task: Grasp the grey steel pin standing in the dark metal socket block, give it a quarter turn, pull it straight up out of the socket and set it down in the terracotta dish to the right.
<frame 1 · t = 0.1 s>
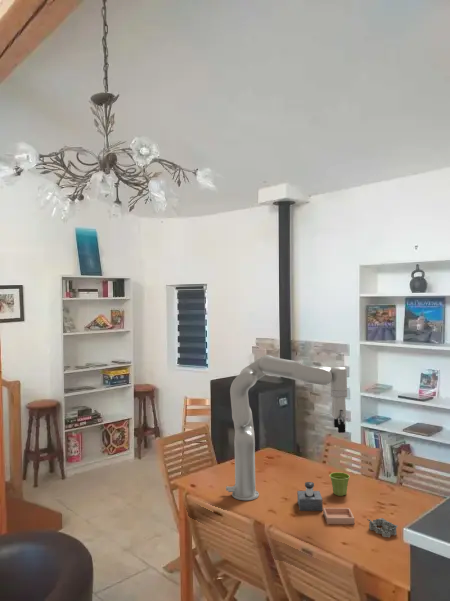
hand: (339, 429, 234), 31 cm above the table, fingers open, 9 cm apart
plant pot: (339, 494, 237), on the table
egg carton: (382, 532, 197), on the table
pin: (309, 494, 223), in the socket block
tray: (338, 518, 209), on the table
socket block: (309, 506, 223), on the table
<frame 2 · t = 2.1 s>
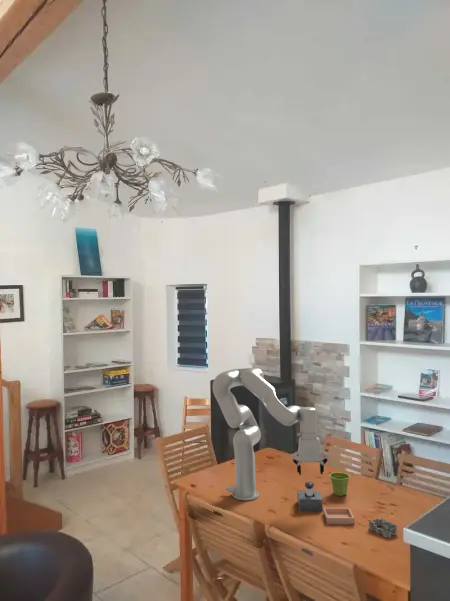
hand: (310, 473, 223), 15 cm above the table, fingers open, 9 cm apart
nothing on the table moved.
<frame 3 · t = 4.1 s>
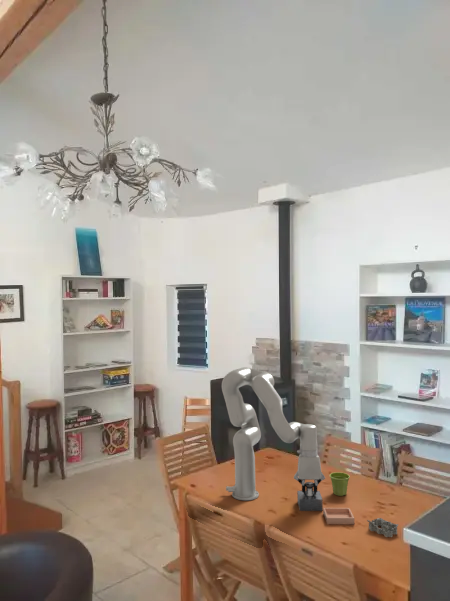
hand: (309, 493, 223), 6 cm above the table, fingers closed on pin, 4 cm apart
pin: (309, 494, 223), in the socket block, touching gripper
everything else where it was.
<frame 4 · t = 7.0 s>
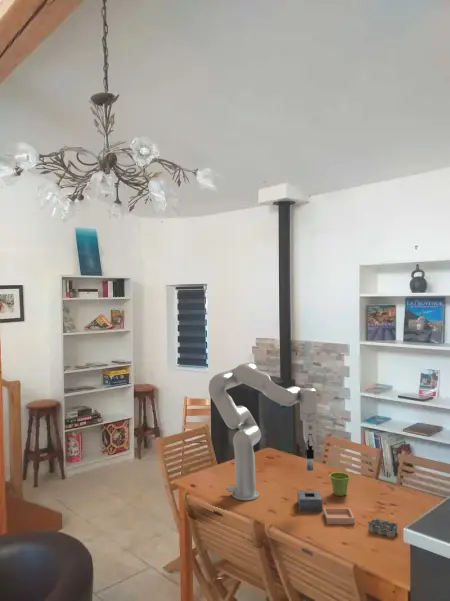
hand: (309, 456, 223), 22 cm above the table, fingers closed on pin, 4 cm apart
pin: (309, 458, 223), point 22 cm above the table, touching gripper
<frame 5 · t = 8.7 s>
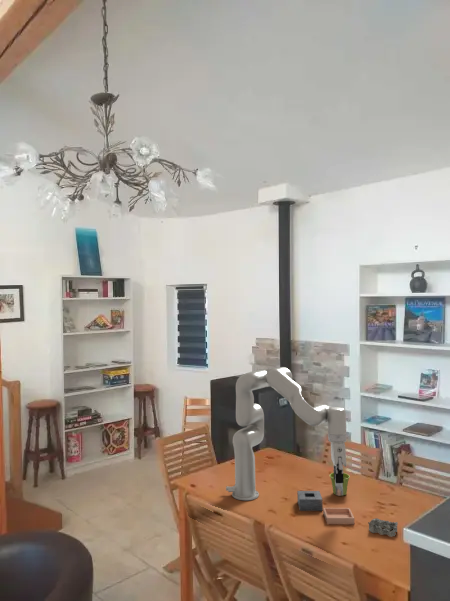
hand: (338, 480, 209), 16 cm above the table, fingers closed on pin, 4 cm apart
pin: (338, 482, 209), point 16 cm above the table, touching gripper
when the fingers open (8 cm above the table, at t = 10.3 s): pin drops 1 cm, resting on tray.
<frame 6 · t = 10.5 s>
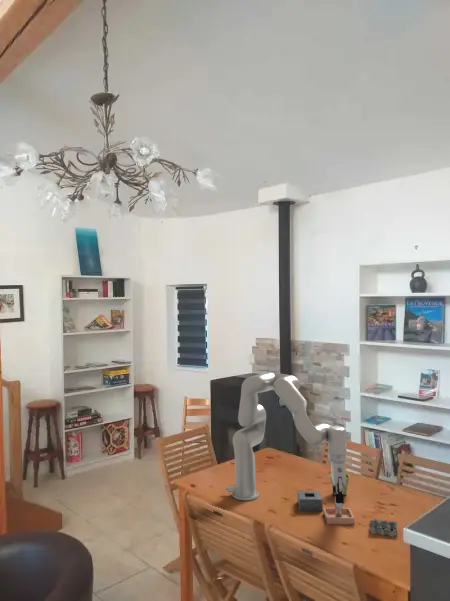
hand: (338, 499, 209), 8 cm above the table, fingers open, 6 cm apart
pin: (338, 505, 209), in the tray, point 6 cm above the table
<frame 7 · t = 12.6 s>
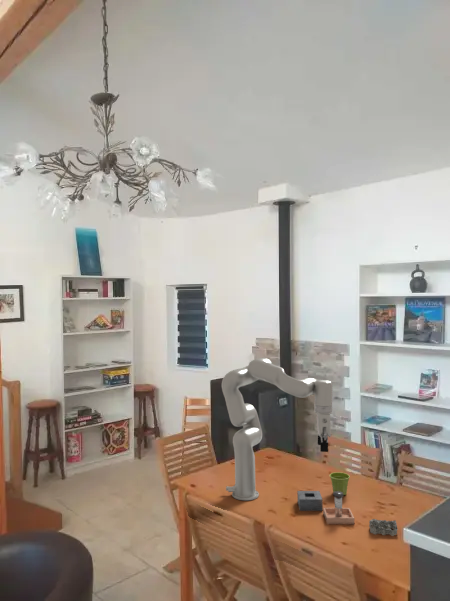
hand: (322, 448, 217), 28 cm above the table, fingers open, 9 cm apart
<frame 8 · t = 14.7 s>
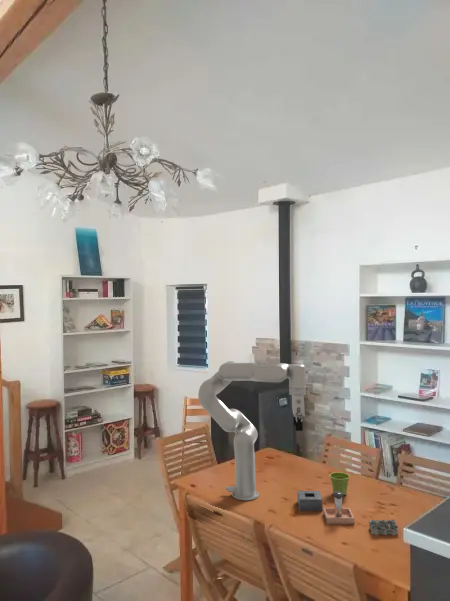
hand: (298, 428, 230), 33 cm above the table, fingers open, 9 cm apart
at the end: pin inside the target area on the tray (0.1 cm from its centre), point 5.7 cm above the tray's base; pin touching tray; the gripper is holding nothing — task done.
